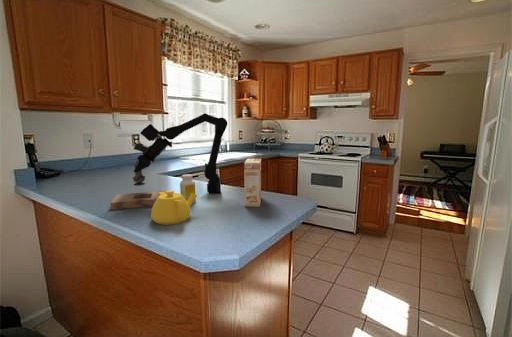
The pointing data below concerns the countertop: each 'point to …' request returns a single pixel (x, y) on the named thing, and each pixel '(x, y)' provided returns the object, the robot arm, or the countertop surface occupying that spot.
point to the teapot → (171, 208)
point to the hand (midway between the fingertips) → (135, 171)
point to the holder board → (134, 200)
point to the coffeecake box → (252, 182)
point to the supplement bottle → (187, 186)
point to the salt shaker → (138, 177)
